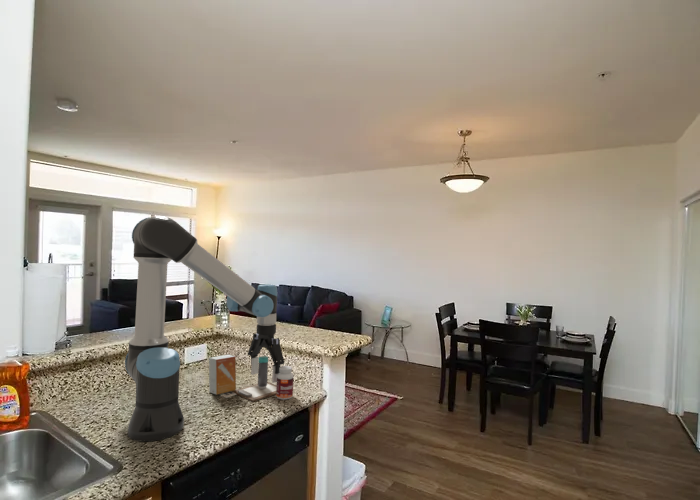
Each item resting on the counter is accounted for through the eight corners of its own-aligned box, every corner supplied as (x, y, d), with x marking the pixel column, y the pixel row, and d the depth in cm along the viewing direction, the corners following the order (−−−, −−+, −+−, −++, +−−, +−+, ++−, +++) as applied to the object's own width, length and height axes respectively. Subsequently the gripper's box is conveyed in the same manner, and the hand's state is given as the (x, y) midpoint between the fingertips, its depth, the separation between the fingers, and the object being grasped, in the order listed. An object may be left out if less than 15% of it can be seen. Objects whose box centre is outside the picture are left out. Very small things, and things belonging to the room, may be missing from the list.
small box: (216, 395, 145) (215, 359, 146) (209, 392, 150) (208, 357, 151) (236, 390, 151) (235, 355, 152) (228, 387, 156) (228, 354, 157)
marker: (263, 390, 152) (264, 359, 152) (255, 388, 153) (256, 358, 153) (269, 387, 155) (270, 357, 155) (261, 385, 157) (262, 355, 157)
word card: (226, 397, 145) (226, 396, 145) (218, 394, 148) (218, 393, 148) (242, 392, 150) (242, 391, 150) (234, 389, 154) (234, 388, 154)
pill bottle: (279, 401, 143) (280, 371, 143) (273, 395, 149) (274, 366, 149) (295, 398, 147) (296, 369, 147) (289, 393, 152) (289, 364, 152)
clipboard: (252, 401, 142) (252, 398, 142) (232, 392, 150) (232, 388, 150) (286, 390, 154) (286, 387, 154) (265, 382, 163) (266, 379, 163)
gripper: (294, 327, 150) (292, 382, 150) (255, 318, 166) (253, 368, 166) (279, 329, 144) (277, 387, 144) (240, 320, 160) (238, 372, 160)
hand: (264, 377), depth 155 cm, fingers open, 13 cm apart
